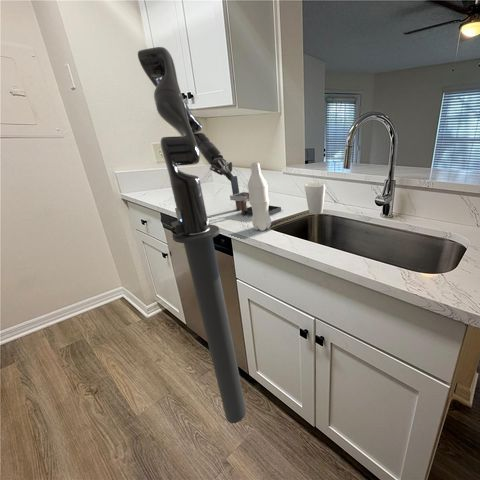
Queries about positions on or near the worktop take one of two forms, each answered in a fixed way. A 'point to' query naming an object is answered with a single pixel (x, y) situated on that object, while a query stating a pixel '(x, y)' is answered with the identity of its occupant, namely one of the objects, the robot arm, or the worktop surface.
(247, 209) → the tray
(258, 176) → the water bottle
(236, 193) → the gray angle bracket
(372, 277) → the worktop surface
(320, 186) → the foam cup
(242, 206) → the cradle
